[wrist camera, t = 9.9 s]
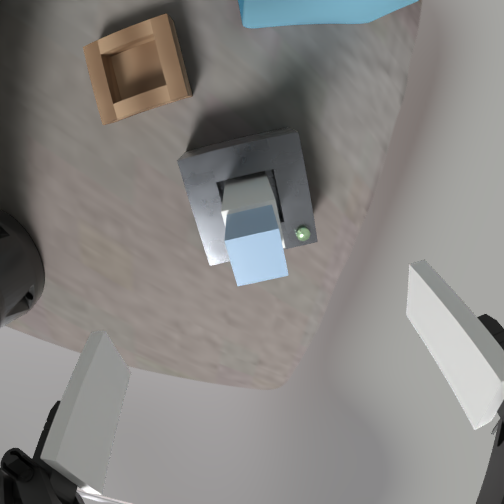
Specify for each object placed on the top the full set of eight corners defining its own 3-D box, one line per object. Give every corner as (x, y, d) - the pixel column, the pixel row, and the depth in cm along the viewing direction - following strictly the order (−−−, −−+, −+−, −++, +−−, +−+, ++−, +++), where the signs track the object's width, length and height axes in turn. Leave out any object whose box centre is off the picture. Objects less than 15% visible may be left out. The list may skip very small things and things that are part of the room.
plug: (235, 214, 31) (234, 291, 19) (225, 178, 29) (217, 237, 17) (272, 205, 30) (294, 278, 19) (264, 169, 29) (283, 222, 17)
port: (213, 244, 34) (209, 267, 29) (185, 151, 29) (176, 161, 25) (307, 223, 33) (318, 243, 29) (289, 127, 28) (299, 132, 24)
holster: (114, 122, 27) (102, 125, 24) (96, 50, 24) (82, 47, 21) (192, 96, 27) (187, 95, 24) (173, 20, 23) (166, 13, 20)
